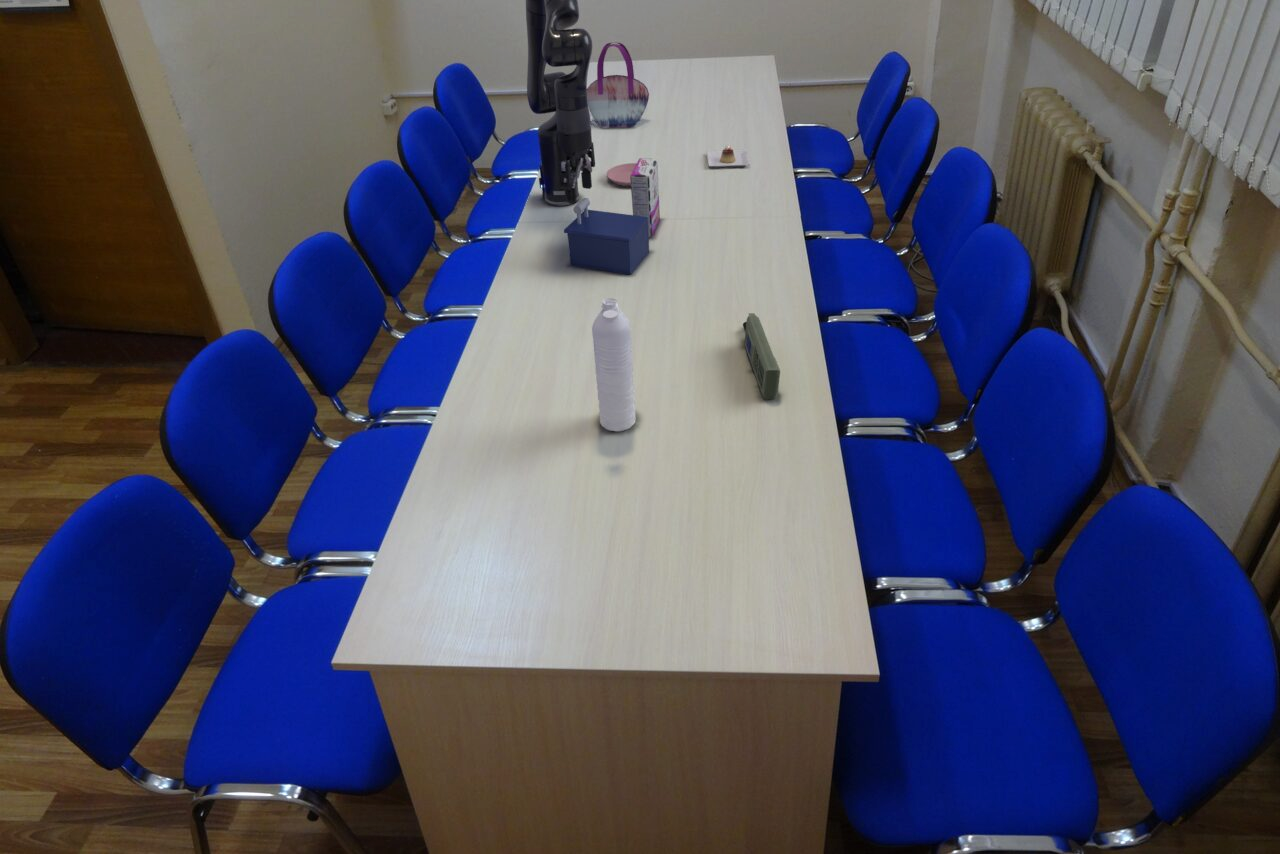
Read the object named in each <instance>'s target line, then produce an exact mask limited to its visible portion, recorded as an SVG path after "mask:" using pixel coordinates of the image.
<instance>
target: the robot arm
mask: <svg viewBox="0 0 1280 854" xmlns="http://www.w3.org/2000/svg"><path fill="white" fill-rule="evenodd" d="M578 1H579V0H525V19H526V33H527V34H526V36H527V37H526V38H527V70H526V71H527V72H526V73H527V75H526V94H527V95H526V97H527V102H528V106H529V108H530V110H531V112H532V113H534V114H536V115H543V114H544V115H545V114H551V113H554V114H553V115H552V116H551V117H550V118H549V119H548V120H546V121H545V122H543V123H542V124H540V125H539V127H538V129H537V137H538V144H539V154H540V162H541V163H540V165H539V174H540V177H539V178H538V183H539V189H541V192H542V199H543V200H545V201H544V202H545V203H546V204H548V205H551V206H555V207H556V206H557V207H562V206H569V205H573V204H576V203H577V202H578V201H579V200H580V193H579V192H580V191H579V182H578V181H579V180H578V179H579V178H580V176H581V187H582V188H583V189H585V190H587V189H589V190H591V189H592V188H593V185H592V183H593V182H592V172H593V168H595V167H596V158H595V148H594V142H593V139H592V124H591V116H590V115H591V112H590V110H589V107H588V97H587V88H588V74H589V67H590V63H591V58H592V55H593V40H592V36H591V35H590V33H589V32H588V31H587V30H586V29H585V28H582V27H581V28H579V27H578V28H572V27H573V26H575V25H576V24H577V23H578V21H579V20H580V9H579V2H578ZM571 28H572V29H571ZM547 65H548V66H549V67H552V68H559V67H573V66H575V68H574V70H573V71H572V72H569V73H568V74H567V73H565V72H564V71H556V72H549V73H545V70H546V66H547ZM580 174H581V175H580Z"/></svg>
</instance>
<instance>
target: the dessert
mask: <svg viewBox="0 0 1280 854" xmlns="http://www.w3.org/2000/svg"><path fill="white" fill-rule="evenodd" d="M706 157H707V158H706V159H707V164H708V165H707V166H708V167H711V168H735V167H737V168H738V167H739V168H740V167H746V166H749V165H751V163H750V159H749V158H750V157H749V154H748V151H747V149H732V148H731V147H730V146H729V145H728V144H727V145H725V147H724V149H722V150H706Z"/></svg>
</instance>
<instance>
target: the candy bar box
mask: <svg viewBox="0 0 1280 854" xmlns="http://www.w3.org/2000/svg"><path fill="white" fill-rule="evenodd" d="M636 163H637V164H636V166H635V168H634V170H633V172H632V173H631V175H630V178H631V186H630V192H631V205H632V215H635V216H643V217H648V234H649V239H651V238H653V237H654V234H655V232H656V229H657V227H658V225H659V222H660V220H661V216H660V215H661V214H660V191H659V190H660V189H659V168H658V167H659V166H658V158H650V157H649V158H647V157H646V158H645V157H640V158H638V160H637V162H636Z"/></svg>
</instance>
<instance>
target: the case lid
mask: <svg viewBox="0 0 1280 854" xmlns="http://www.w3.org/2000/svg"><path fill="white" fill-rule="evenodd" d="M590 205H591V201H590V199H589V198H587V197H584V198H581V200H580V201H579V202H578V203H577V204H576V205H575V206H573V212H574V214H576V217H575V218H574V220H572V222H570V223H569V224H568V225H567V227H565V228H564V229H563V233H564V234H567V233H568V234H576V235H583V236H591V237H598V238H605V239H613V240H620V241H628V242H629V241H630V240H631V239H632V238H633V236H634V235H635V234H636V233H637V232H638V231H639V230H640V229H641V227H642V226H643V225H644V224H645V223H646V222H647V221H648V217H643V216H635V215H633V214H627V213H618V212H610V211H602V210H595V209H594V210H593V209H589V208H588V207H589V206H590Z"/></svg>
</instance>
